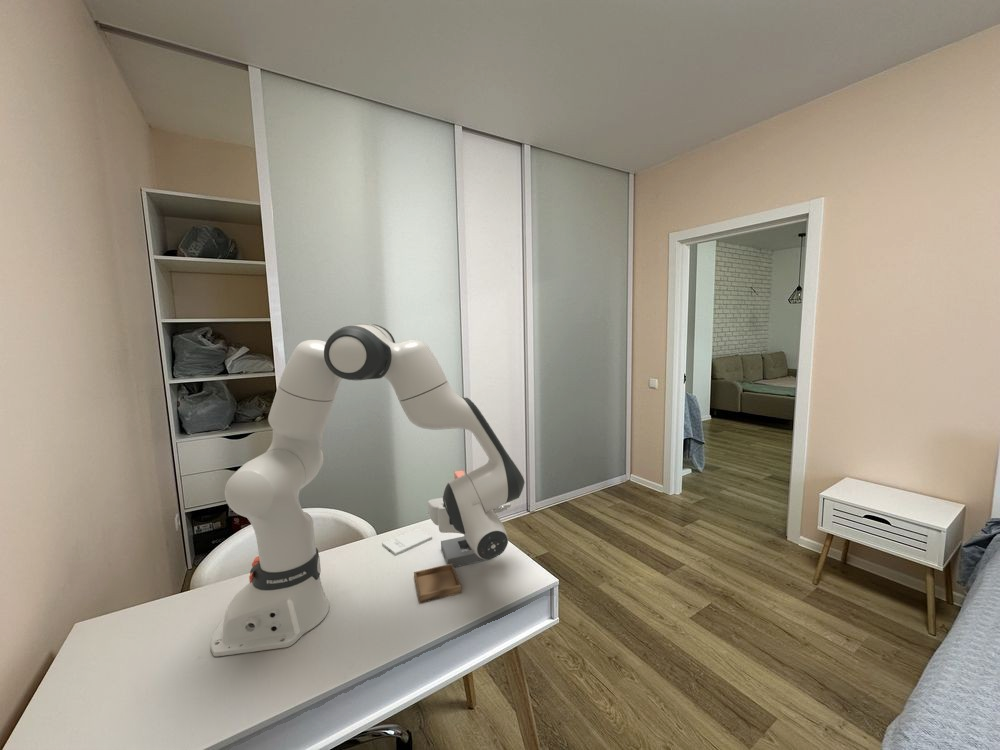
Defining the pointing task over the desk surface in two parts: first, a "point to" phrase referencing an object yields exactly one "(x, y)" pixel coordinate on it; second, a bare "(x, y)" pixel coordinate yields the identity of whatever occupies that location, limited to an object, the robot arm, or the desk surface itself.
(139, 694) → the desk surface
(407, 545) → the external hard drive
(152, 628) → the desk surface
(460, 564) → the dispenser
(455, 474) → the pink rectangular bar
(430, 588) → the tray
